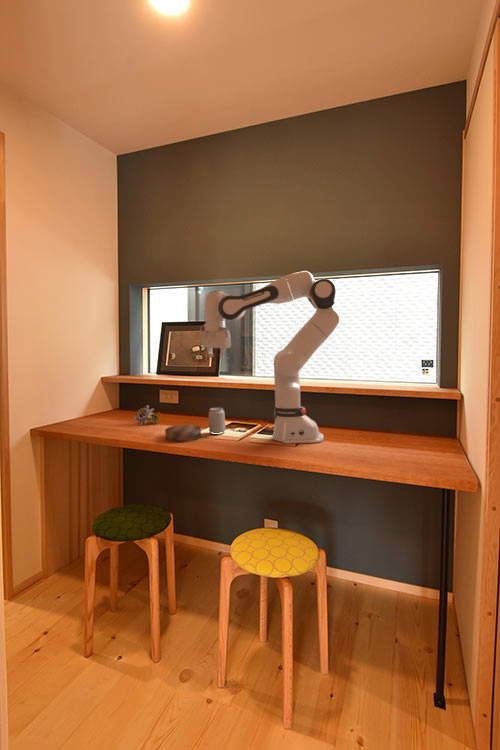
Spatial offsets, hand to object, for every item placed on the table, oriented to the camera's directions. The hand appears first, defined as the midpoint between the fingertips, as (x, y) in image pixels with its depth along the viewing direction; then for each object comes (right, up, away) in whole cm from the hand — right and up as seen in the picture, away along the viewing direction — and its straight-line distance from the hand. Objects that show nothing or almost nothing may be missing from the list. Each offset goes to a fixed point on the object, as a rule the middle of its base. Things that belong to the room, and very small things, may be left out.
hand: (216, 357), depth 184 cm
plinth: (-15, -36, +1) cm, 40 cm away
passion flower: (-40, -34, +32) cm, 61 cm away
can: (0, -36, +7) cm, 36 cm away
